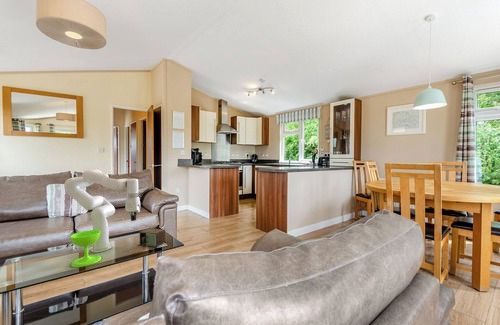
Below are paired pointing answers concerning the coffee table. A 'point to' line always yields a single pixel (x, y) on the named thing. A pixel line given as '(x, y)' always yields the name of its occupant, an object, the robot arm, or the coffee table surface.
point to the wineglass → (85, 247)
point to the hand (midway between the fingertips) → (133, 220)
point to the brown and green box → (159, 233)
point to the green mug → (149, 239)
